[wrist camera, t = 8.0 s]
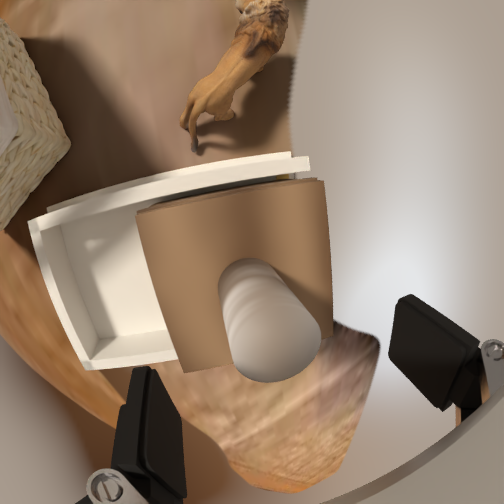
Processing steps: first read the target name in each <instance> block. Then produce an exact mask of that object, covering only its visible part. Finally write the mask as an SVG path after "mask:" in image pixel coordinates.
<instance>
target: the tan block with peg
mask: <svg viewBox="0 0 504 504" xmlns="http://www.w3.org/2000/svg"><path fill="white" fill-rule="evenodd" d="M135 219H136V224H137V228H138V232H139V236H140V240H141V244H142V248H143V252H144V256H145V259H146V263H147V267H148V270H149V274H150V277H151V281H152V284H153V287H154V290H155V294H156V297H157V300H158V303H159V306H160V309H161V312H162V315H163V318H164V321H165V324H166V327H167V330H168V332H169V335H170V338H171V341H172V343H173V346H174V349H175V351H176V354H177V357H178V359H179V362H180V364H181V367H182V369H183V372H184V373H188V372H194V371H199V370H205V369H210V368H215V367H220V366H225V365H229V364H234V365H235V367H236V368H237V370H238V371H239V372H240V373H241V374H242V375H244V376H245V377H247V378H249V379H251V380H254V381H258V382H265V383H269V382H278V381H282V380H285V379H288V378H291V377H293V376H295V375H296V374H298V373H300V372H301V371H303V370H304V369H305V368H306V367H307V366H308V365H309V364H310V363H311V362H312V361H313V359H314V358H315V356H316V355H317V353H318V350H319V348H320V344H321V340H322V339H325V338H328V337H331V336H333V292H332V272H331V271H332V270H331V253H330V239H329V227H328V215H327V206H326V197H325V187H324V181H320V180H317V178H305V179H280V180H273V181H266V182H260V183H254V184H248V185H242V186H236V187H231V188H225V189H220V190H214V191H209V192H204V193H199V194H194V195H190V196H185V197H180V198H176V199H171V200H167V201H162V202H158V203H154V204H153V205H151V206H149V207H148V208H144V209H140V210H138V211H137V215H135Z"/></svg>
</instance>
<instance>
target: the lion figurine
mask: <svg viewBox="0 0 504 504" xmlns="http://www.w3.org/2000/svg"><path fill="white" fill-rule="evenodd" d="M236 8H237V9H238V10H239V11H240V13H241V14H242V15H241V16H240V18H239V26H238V28H237V30H236V32H235V39H234V40H233V41H232V43H231V47H230V49H229V50H228V51H227V52H226V53H225V54H224V56H223V57H222V59H221V60H220V62H219V64H218V65H217V67H216V69H215V71H214V72H213V73H211V74H210V75H208V76H206V77H204V78H203V79H201V80H200V81H199V82H198V83H197V84H196V85H195V87H194V88H193V90H192V91H191V92H190V94H189V96H188V101H187V105H186V108H185V110H184V112H183V114H182V115H181V117H180V126H181V127H182V128H184V129H186V128H188V127H189V132H190V136H191V139H192V142H191V150H192V152H194V153H195V152H196V151H197V147H198V139H197V135H196V131H195V127H196V121H197V118H198V117H199V115H200V114H201V113H203V112H205V111H206V112H207V113H208V114H211V115H215V117H214V120H215V121H219V120H229V119H231V118H232V117H233V116H234V111H233V110H232V109H230V107H231V103H232V101H233V95H234V92H235V90H236V89H238V88H239V87H241V86H242V85H244V84H245V83H246V82H247V81H248V80H249V79H250V77H252V76H253V75H254V74H255V73H256V72H260V71H262V70H263V66H264V64H265V63H267V62H268V60H269V59H270V57H271V56H272V55H273V54H275V53H277V52H278V51H279V49H280V48H281V46H282V44H283V41H284V38H285V31H286V29H287V28H288V23H287V22H288V17H289V14H288V12H289V9H288V8H287V7H286V5H285V3H284V2H283V1H282V0H236Z"/></svg>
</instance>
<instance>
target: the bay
mask: <svg viewBox="0 0 504 504" xmlns="http://www.w3.org/2000/svg"><path fill="white" fill-rule="evenodd" d="M302 171H310V165H309V159H308V156H303V157H294V158H291V151H290V152H281V153H272V154H265V155H257V156H250V157H243V158H237V159H231V160H225V161H219V162H213V163H208V164H202V165H197V166H192V167H187V168H182V169H178V170H173V171H169V172H164V173H160V174H156V175H152V176H148V177H144V178H140V179H136V180H132V181H128V182H124V183H121V184H117V185H114V186H110V187H107V188H103V189H100V190H97V191H94V192H90V193H87V194H84V195H81V196H78V197H75V198H72V199H69V200H66V201H63V202H60V203H58V204H55V205H52V206H49V207H47V212H48V214H45V215H42V216H40V217H37V218H34V219H32V220H29V221H28V226H29V230H30V234H31V238H32V242H33V245H34V249H35V252H36V256H37V259H38V262H39V266H40V269H41V272H42V275H43V278H44V280H45V283H46V286H47V289H48V291H49V294H50V297H51V299H52V302H53V304H54V307H55V309H56V311H57V314H58V316H59V318H60V321H61V323H62V325H63V327H64V329H65V332H66V334H67V336H68V338H69V340H70V342H71V344H72V346H73V348H74V350H75V352H76V354H77V355H78V357H79V359H80V361H81V363H82V365H83V366H84V368H85V370H98V369H108V368H118V367H127V366H135V365H143V364H150V363H157V362H163V361H170V360H176V359H178V357H177V354H176V351H175V349H174V346H173V343H172V341H171V338H170V335H169V332H168V330H167V327H166V324H165V321H164V318H163V315H162V312H161V309H160V306H159V303H158V300H157V297H156V294H155V290H154V287H153V284H152V281H151V277H150V274H149V270H148V267H147V263H146V259H145V256H144V252H143V248H142V244H141V240H140V236H139V232H138V228H137V224H136V219H135V215H137V211H138V210H140V209H144V208H148V207H149V206H151V205H153V204H154V203H158V202H162V201H167V200H171V199H176V198H180V197H185V196H190V195H194V194H199V193H204V192H209V191H214V190H220V189H225V188H231V187H236V186H242V185H248V184H254V183H260V182H266V181H273V180H280V179H295V178H294V172H302Z"/></svg>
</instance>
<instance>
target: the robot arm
mask: <svg viewBox="0 0 504 504" xmlns="http://www.w3.org/2000/svg"><path fill="white" fill-rule="evenodd" d="M479 343H480V341H479V340H478V339H477V338H475V337H474V336H472V335H471V334H470V333H468V332H467V331H465V330H464V329H462V328H461V327H460V326H458V325H457V324H456V323H454V322H453V321H451V320H450V319H448V318H447V317H446V316H444V315H443V314H441V313H440V312H438V311H437V310H435V309H434V308H432V307H431V306H429V305H428V304H426V303H425V302H423V301H422V300H420V299H419V298H417V297H416V296H414V295H412V294H409V295H407V296H405V297H402V298H400V299H399V300H398V303H397V304H396V306H395V314H394V321H393V329H392V335H391V340H390V346H389V352H388V356H389V358H390V360H391V361H392V362H393V363H394V364H395V366H396V367H397V368H398V369H399V370H400V371H401V372H402V373H403V374H404V375H405V376H406V377H407V378H408V379H409V380H410V381H411V382H412V383H413V384H414V385H415V386H416V388H417V389H418V390H419V391H420V392H421V393H422V394H423V395H424V396H425V397H426V398H427V399H428V400H429V401H430V402H431V403H432V404H433V406H434V407H436V408H439V409H440V410H441V411H442V412H443V411H445V410H446V409H447V408H448V407H450V406H451V405H452V403H454V404H455V405H456V428H455V429H454V430H452V431H451V432H450V433H448V434H447V435H446V436H444V437H443V438H442V439H440V440H439V441H438V442H436V443H435V444H434V445H432V446H431V447H429V448H428V449H426V450H425V451H423V452H422V453H421V454H419V455H418V456H416V457H415V458H413V459H411V460H410V461H408V462H406V463H405V464H403V465H401V466H400V467H398V468H396V469H394V470H393V471H391V472H389V473H387V474H386V475H384V476H382V477H380V478H378V479H376V480H374V481H372V482H370V483H368V484H366V485H364V486H362V487H360V488H357V489H355V490H353V491H351V492H349V493H346V494H344V495H341V496H339V497H336V498H334V499H331V500H329V501H326V502H323V503H320V504H504V343H503V342H501V341H499V340H494V339H492V340H487V341H485V342H484V343H483V344H482V346H481V349H480V348H479V347H478V346H479ZM86 487H87V493H88V495H87V496H86V497H84V498H83V499H81V500H80V501H78V502H77V503H76V504H183V498H186V497H187V489H186V478H185V467H184V454H183V437H182V421H181V417H180V414H179V413H178V411H177V409H176V407H175V405H174V404H173V402H172V400H171V398H170V396H169V394H168V392H167V390H166V388H165V387H164V385H163V383H162V381H161V379H160V377H159V375H158V372H157V371H156V369H151V368H150V367H149V366H144V367H137V368H134V369H133V371H132V375H131V380H130V385H129V390H128V395H127V401H126V404H124V405H122V406H121V407H120V410H119V416H118V421H117V427H116V433H115V440H114V447H113V454H112V461H111V469H101V470H99V471H96V472H95V473H94V474H92V475H91V476H90V478H89V480H88V482H87V486H86Z"/></svg>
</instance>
